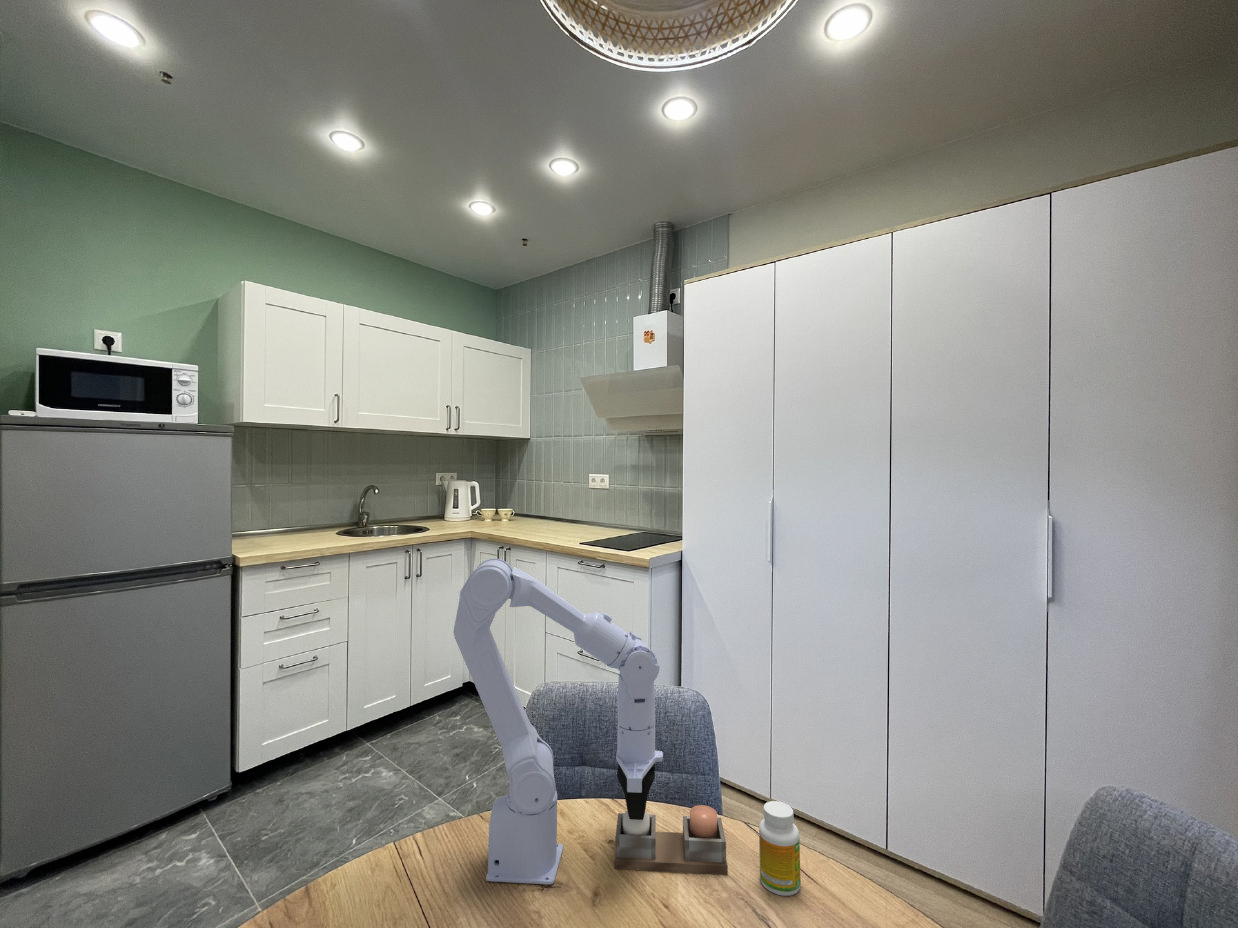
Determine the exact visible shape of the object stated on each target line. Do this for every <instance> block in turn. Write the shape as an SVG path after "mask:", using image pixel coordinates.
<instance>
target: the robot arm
mask: <svg viewBox="0 0 1238 928" xmlns="http://www.w3.org/2000/svg"><path fill="white" fill-rule="evenodd" d="M509 599H510V603H509V608H518V607H521V608H522V607H531V608H533V609H535V610H536V611H537V612H539V613H541V614H543V615H544V616H546V617H547V618H549V619H551V620H552V621H554V622H556V623H557V624H558V625H560V626H562V627H564V628H565V629H567V630H568V631H570V632H572V633H573V637H574V643H575V645H576V646H577V647H578V648H580V649H582V650H583V652H586V653H587V654H589V655H590V656H592V657H594V658H595V659H596V660H597V661H599V662H601V663H603V664H604V665H605V666H607V667H608V668H611V669H616V670H618V671H619V673H618V690H617V734H616V735H617V747H616V749H617V751H616V752H615V756H616V757H615V759H616V762H617V763H618V765H617V770H616V776H617V780H618V783H619V786H621V789H622V791H623V792H622V793H623V794H624V799H625V804H626V809H627V810H626V811H628V815H629V819H633V820H643V818H644V814H645V812H646V809H647V808H646V807H647V802H648V796H649V792H650V790H651V787H652V785H653V784H654V782H655V778H656V772H655V771H656V762H657V763H658V762H663V760H664V756H663V755H664V754H663V751H662V750H656V693H655V680H656V679H657V678H658V675H659V673H660V665H659V663H658V659H657V657H656V655H655V653H654V652H653V650H651V648H650V647H649V646H648V644H647V643H646V642H645V641H643V639H642V638H641V637H638V635H637V634H636V633H634V632H633V631H629V632H628V631H626V630H625V629H623V628H621V627H620V626H619V625H617V624H616V623H614V622H612V621H613V618H612V616H611V615H610V614H608V613H607V612H604V613H603V614H601V613H599V612H598V611H594V612H588V613H584V612H583V611H581V610H580V609H579V608H577V607H575V605H573V604H571V603H570V602H569V601H567V600H566V599H564V598H563V597H562V596H560V595H559V594H557V592H555V591H553V590H552V589H550V588H549V587H548V586H547V585H545V584H544V583H542V582H541V581H539V579H537V578H536V577H534V576H532V575H531V574H529V573H527V572H525V571H524V570H522V569H520V568H517V567H516V566H514V567H513V568H512V566H511V565H510V564H509V563H508V562H507V561H506V560H504V559H501V558H489V559H486V560H483V561H482V562H481V563H480V564H479V565H477V566H476V568H475V569H474V570H473V571H472V572H471V573H470V575H469V576H468V577H467V579H466V581H465V583H464V584H463V586H462V588H461V590H460V591H459V601H458V605H457V611H456V616H455V620H454V625H453V637H454V640H455V642H456V644H457V646H458V649H459V651H460V654H461V656H462V658H463V661H464V662H465V665H466V667H467V669H468V672H469V674H470V675H469V676H470V677H471V679H472V681H473V684H474V685H475V689H476V691H477V692H478V696H479V697H480V701H481V702H482V704H483V705H482V706H483V708H484V709H485V711H486V714H487V716H488V718H489V721H490V723H491V726H492V728H493V731H494V732H495V734H496V737H497V739H498V742H499V744H500V746H501V750H502V756H503V761H504V765H505V770H506V773H507V775H508V778H509V791H508V792H509V793H507V795H504V796H498V797H496V798H495V800H494V803H493V804H492V808H491V812H490V817H489V823H488V843H487V844H488V845H487V846H488V848H487V850H488V851H487V874H486V875H485V876H486V877H485V880H486V881H487V882H500V883H501V882H502V883H516V884H517V883H518V884H536V885H553V884H554V883H555V880H556V877H557V873H558V869H559V866H560V862H561V858H562V854H563V851H564V845H563V844H562V843H557V842H558V792H557V789H556V779H555V776H554V761H555V760H554V758H555V757H554V752H553V749H552V748H551V746H550V745H549V744H548V743H547V742H546V741H544V740H543V739H542V738H541V736H540V735H539V734H538V731H537V729H536V727H535V726H533V725H532V724H531V721H530V719H529V717H528V715H527V714H528V713H527V712H526V710H525V707H524V705H523V703H522V701H521V698H520V696H519V693H518V692H517V689H516V686H515V684H514V682H513V680H512V677H511V675H510V673H509V670H508V669H507V666H506V664H505V662H504V659H503V657H502V654H501V652H500V649H499V647H498V645H497V643H496V640H495V638H494V636H493V634H492V631H491V628H490V627H491V626H492V623H493V622H494V619H495V616H496V614H497V612H498V611H499V610H500V609H501V608H502V607H503V606H504V605H505V603H507V601H508V600H509Z"/></svg>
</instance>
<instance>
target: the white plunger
mask: <svg viewBox="0 0 1238 928" xmlns="http://www.w3.org/2000/svg"><path fill="white" fill-rule="evenodd" d="M649 815H650V814H649V813H648V812H647V811H645V814H644V818H643V820H633V819H629V815H628V811H627V810H625V812H624V814H623V835H643V836H649V835H650V817H649Z"/></svg>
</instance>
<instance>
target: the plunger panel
mask: <svg viewBox="0 0 1238 928" xmlns="http://www.w3.org/2000/svg"><path fill="white" fill-rule="evenodd" d="M624 813H625V812H624ZM624 813H623V812H622V813H618V814H617V820H616V821H617V822H616V827H615V828H616V829H615V839H614V840H615V843H614V844H615V847H614V848H615V849H614V851H615V853H614V859H613V860H614V861H613V862H614V864H613V867H614V868H613V869H614V870H626V871H628V870H629V871H643V872H645V871H646V872H661V873H662V872H666V873H683V874H684V873H685V874H689V873H690V874H701V875H702V874H703V875H704V874H706V875H707V874H708V875H723V876H728V872H729V871H728V870H729V869H728V861H727V841H726V837H725V831H724V826H723V821H722V817H717V834H716V835H715V836H714V837H712V838H699V837H697V836H695V835H693V834H692V833H691V831H690V815H689V816H688V815H683V816H682V832H678V831H677V832H675V831H673V832H671V831H656V830H657V827H656V824H657V822H656V818H657V817H656V814H649V817H650V835H649V836H643V835H623V814H624Z"/></svg>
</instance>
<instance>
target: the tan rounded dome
mask: <svg viewBox="0 0 1238 928" xmlns="http://www.w3.org/2000/svg"><path fill="white" fill-rule="evenodd" d="M689 816H690V831H691V833H692V834H693V835H695V836H697V837H699V838H712V837H714V836H715V835H716V834H717V818H718V813H717V811H716V809H714V808H713V807H711V806H708V805H706V804H705V805H704V804H701V805H700V804H697V805H695V806H692V807H691V808H690V809H689Z"/></svg>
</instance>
